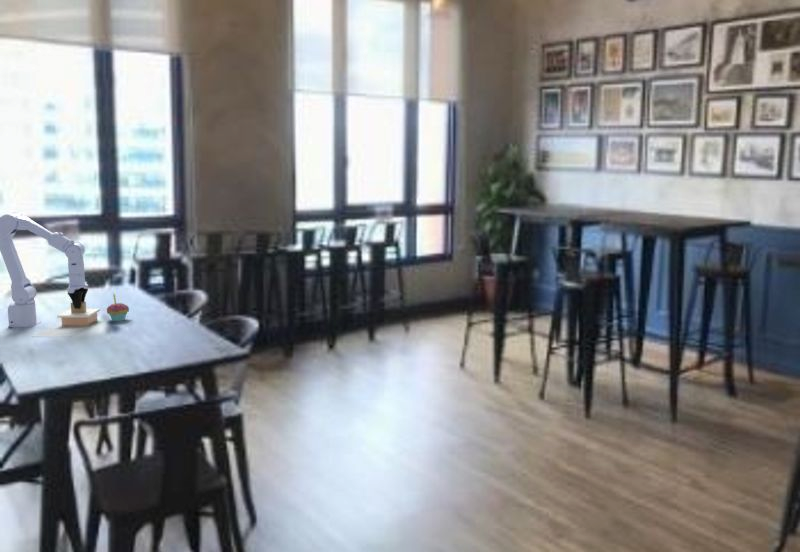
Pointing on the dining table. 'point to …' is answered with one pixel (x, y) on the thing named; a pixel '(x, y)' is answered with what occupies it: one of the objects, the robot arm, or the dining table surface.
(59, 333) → the mat
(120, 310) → the cupcake
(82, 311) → the lid
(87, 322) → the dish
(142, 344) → the dining table surface
